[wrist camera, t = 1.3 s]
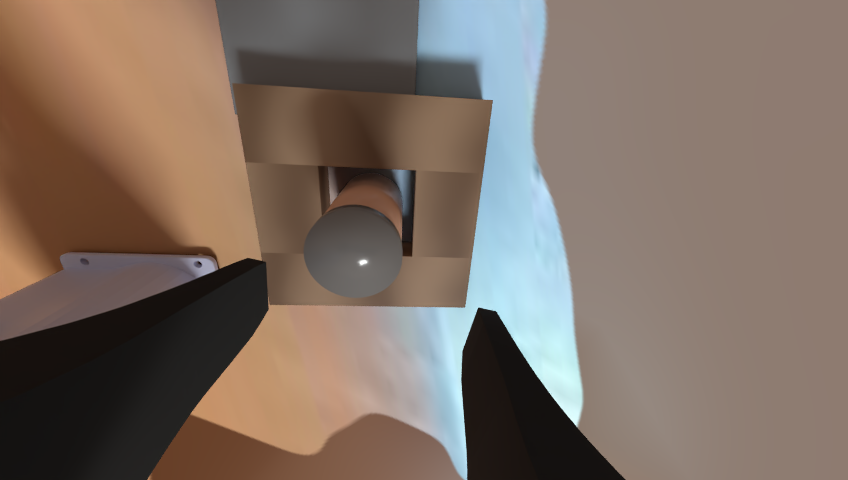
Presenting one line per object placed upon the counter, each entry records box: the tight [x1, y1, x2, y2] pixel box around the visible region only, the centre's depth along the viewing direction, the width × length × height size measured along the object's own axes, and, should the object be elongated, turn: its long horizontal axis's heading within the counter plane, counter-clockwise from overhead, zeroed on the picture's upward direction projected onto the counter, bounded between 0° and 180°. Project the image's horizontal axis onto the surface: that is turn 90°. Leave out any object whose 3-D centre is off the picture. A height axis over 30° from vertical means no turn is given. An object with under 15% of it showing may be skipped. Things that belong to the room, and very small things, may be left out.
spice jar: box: [304, 173, 403, 298], centre depth 16 cm, size 4×4×8 cm
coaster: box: [215, 0, 419, 114], centre depth 16 cm, size 10×10×1 cm
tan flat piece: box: [232, 83, 493, 307], centre depth 19 cm, size 13×13×2 cm
